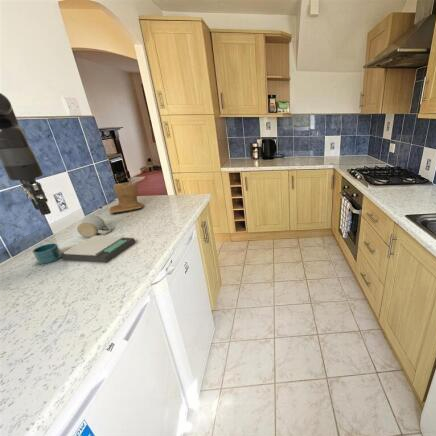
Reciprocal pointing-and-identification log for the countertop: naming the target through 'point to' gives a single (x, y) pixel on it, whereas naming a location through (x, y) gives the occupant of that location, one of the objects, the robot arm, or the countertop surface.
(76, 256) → the scale
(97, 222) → the ceramic mug
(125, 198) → the brown upright piece
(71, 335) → the countertop surface
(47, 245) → the bowl
